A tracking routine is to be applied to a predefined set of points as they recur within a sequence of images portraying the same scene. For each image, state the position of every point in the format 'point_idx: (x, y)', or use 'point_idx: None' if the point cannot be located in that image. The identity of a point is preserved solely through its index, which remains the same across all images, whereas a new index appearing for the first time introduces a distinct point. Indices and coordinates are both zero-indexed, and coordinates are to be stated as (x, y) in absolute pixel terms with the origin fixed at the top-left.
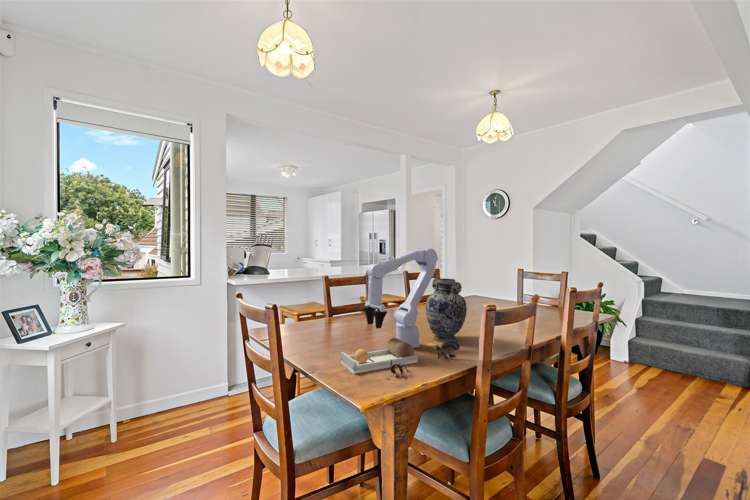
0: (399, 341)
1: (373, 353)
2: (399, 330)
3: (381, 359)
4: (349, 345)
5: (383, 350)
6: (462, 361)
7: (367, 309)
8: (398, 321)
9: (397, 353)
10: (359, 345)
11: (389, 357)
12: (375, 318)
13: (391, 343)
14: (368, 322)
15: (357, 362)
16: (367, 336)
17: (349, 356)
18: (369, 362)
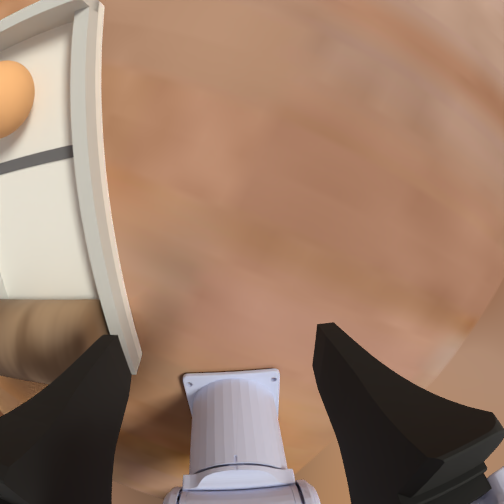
0: (19, 361)
1: (81, 199)
2: (214, 451)
3: (32, 217)
4: (395, 157)
5: (95, 272)
6: None
7: (400, 473)
8: (252, 494)
9: (6, 301)
10: (368, 212)
11: (51, 268)
12: (45, 403)
13: (48, 327)
14: (323, 339)
15: (33, 80)
16: (458, 307)
17: (2, 30)
18: (13, 142)
